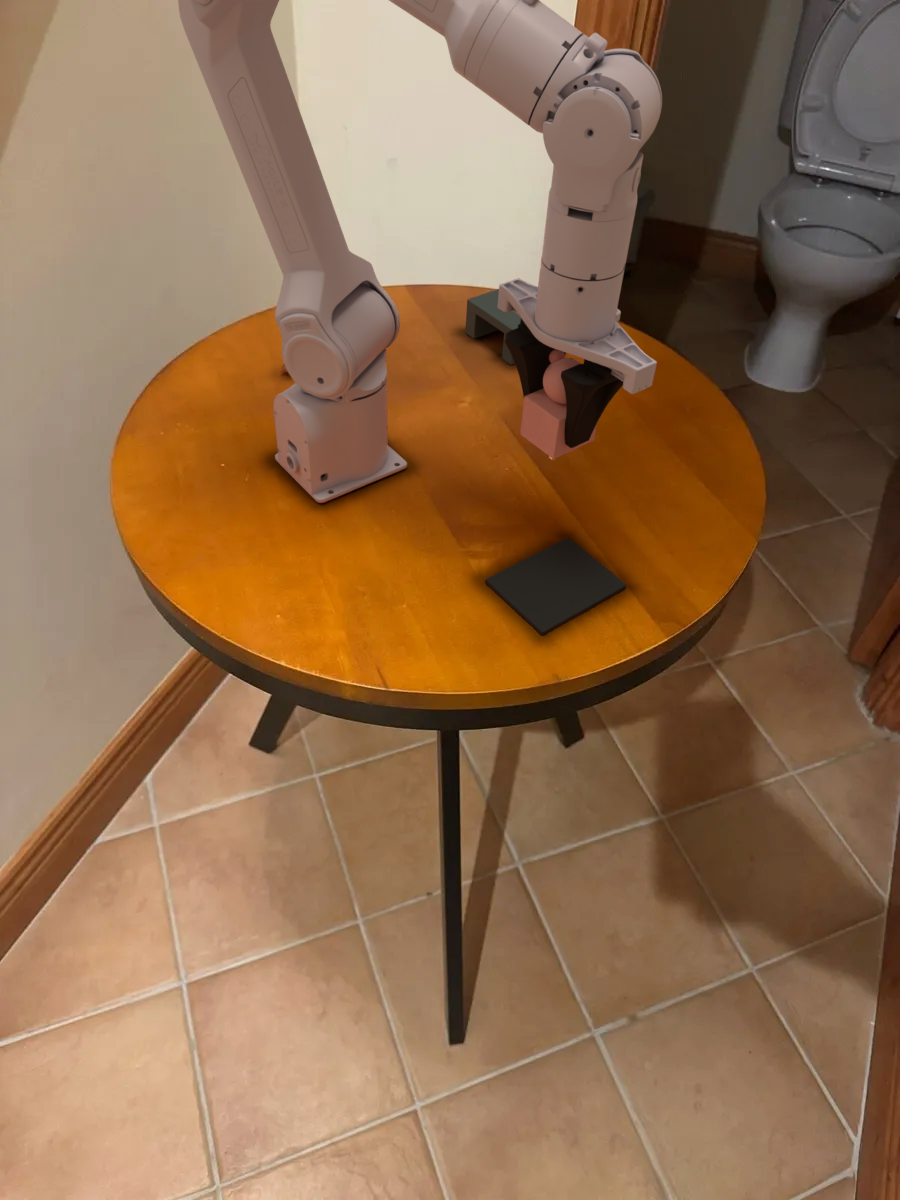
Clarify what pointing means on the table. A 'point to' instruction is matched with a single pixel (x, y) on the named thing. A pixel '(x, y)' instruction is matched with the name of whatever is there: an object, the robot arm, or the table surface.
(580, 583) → the mat
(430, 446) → the table surface
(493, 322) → the grey step stool
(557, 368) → the toy
